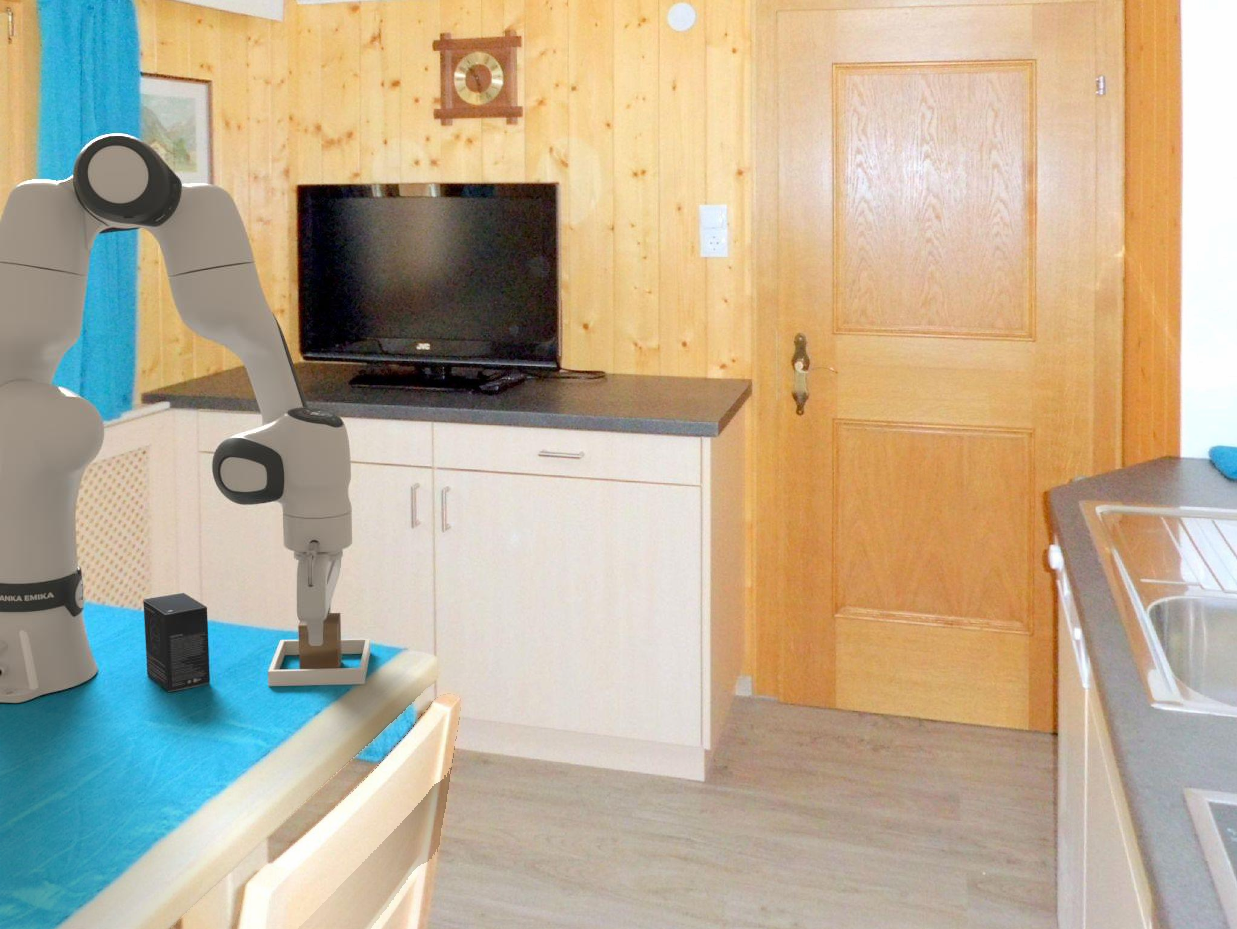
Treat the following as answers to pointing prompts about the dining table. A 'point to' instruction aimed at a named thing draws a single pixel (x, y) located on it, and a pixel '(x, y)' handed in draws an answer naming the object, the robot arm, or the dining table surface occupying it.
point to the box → (176, 641)
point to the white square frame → (319, 675)
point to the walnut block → (328, 651)
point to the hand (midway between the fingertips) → (320, 632)
